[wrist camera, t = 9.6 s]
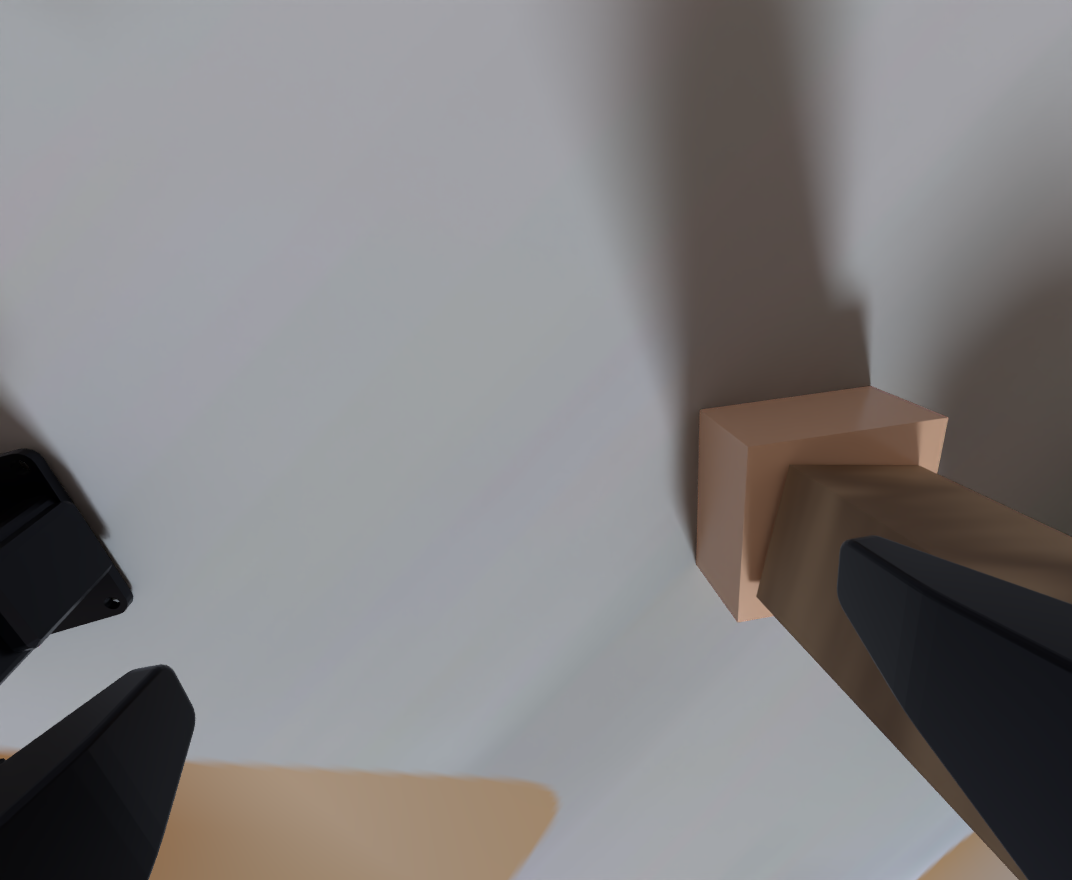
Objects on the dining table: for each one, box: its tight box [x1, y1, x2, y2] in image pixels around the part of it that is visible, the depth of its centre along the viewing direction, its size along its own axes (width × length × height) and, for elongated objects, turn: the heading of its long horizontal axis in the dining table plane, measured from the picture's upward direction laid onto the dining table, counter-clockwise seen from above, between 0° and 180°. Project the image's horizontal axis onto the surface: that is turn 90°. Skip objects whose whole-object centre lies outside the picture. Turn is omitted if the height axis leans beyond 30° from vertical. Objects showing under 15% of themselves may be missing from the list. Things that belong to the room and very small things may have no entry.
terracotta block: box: [696, 386, 948, 622], centre depth 22 cm, size 7×7×4 cm
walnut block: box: [756, 465, 1072, 880], centre depth 14 cm, size 5×5×13 cm
